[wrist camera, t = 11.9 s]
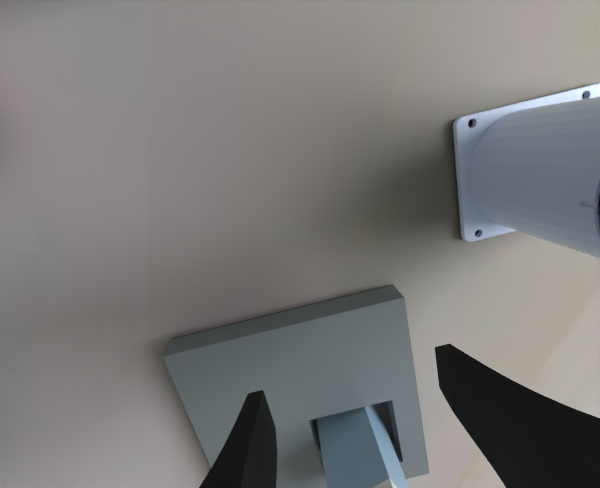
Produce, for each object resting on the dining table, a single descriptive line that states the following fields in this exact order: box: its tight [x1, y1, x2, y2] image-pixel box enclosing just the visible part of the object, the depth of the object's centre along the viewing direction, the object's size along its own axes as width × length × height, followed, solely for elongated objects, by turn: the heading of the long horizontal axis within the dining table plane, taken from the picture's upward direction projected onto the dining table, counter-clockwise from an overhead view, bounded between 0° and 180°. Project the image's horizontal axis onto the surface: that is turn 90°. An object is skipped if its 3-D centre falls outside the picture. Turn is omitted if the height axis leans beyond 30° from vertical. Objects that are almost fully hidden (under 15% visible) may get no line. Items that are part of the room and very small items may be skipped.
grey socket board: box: [162, 285, 429, 488], centre depth 23 cm, size 16×16×2 cm
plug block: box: [317, 405, 409, 488], centre depth 21 cm, size 4×4×8 cm
